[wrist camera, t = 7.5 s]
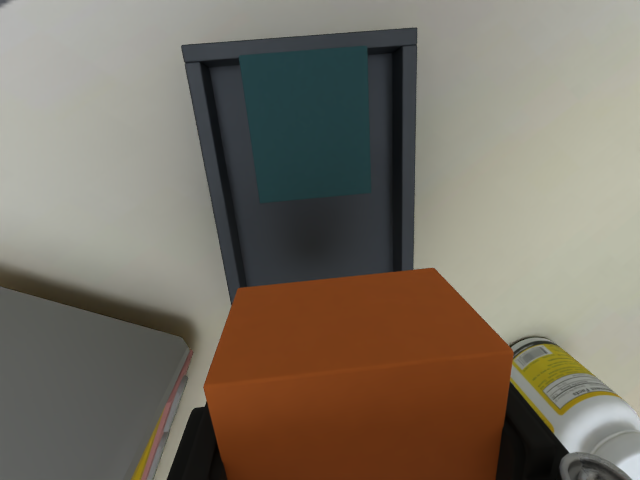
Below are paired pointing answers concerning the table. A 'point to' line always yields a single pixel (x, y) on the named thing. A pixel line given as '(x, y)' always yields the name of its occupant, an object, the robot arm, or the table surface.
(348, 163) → the dark teal block
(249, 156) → the tray
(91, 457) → the yellow toy microwave
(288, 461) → the orange block
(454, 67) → the table surface
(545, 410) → the supplement bottle
